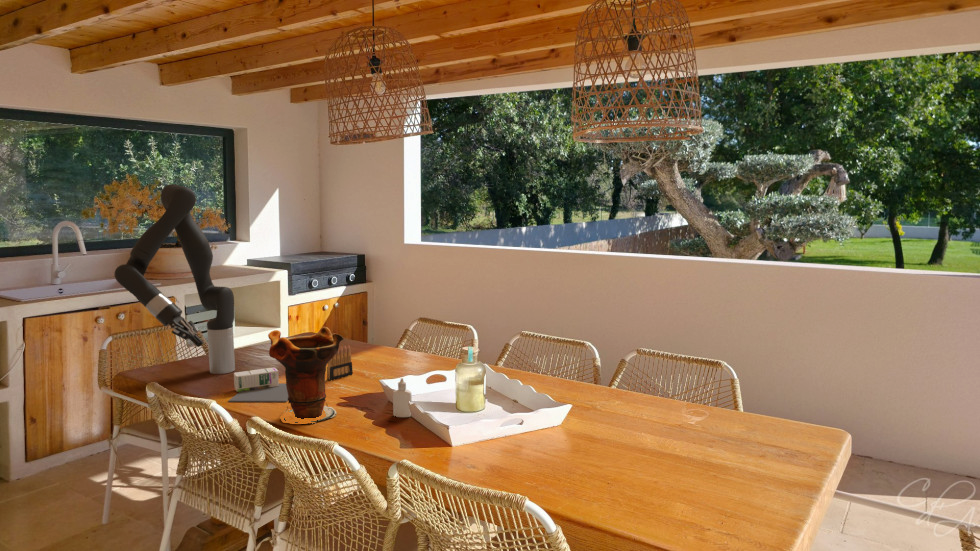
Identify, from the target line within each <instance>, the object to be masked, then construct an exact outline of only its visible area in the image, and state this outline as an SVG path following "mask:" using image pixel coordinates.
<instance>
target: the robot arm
mask: <svg viewBox="0 0 980 551" xmlns="http://www.w3.org/2000/svg"><path fill="white" fill-rule="evenodd" d="M160 201H161V204H162V206H163V208H164V210H165V211H164V213H163V214H162V215H161V217H160V218H159V219H158V220H157V221H156V222H154V223H153V224H152V225H151V226H150V227H149V228H147V229H146V230H145V232H143V233H142V235H141V236H140V237H139V238H138V240H137V241H136V243H135V244H134V246H133V248H132V249H131V251H130V253H129V254H130V255H129V256H130V257H129V258H128V260H127V262H126V263H123V264H120V265H119V266H117V267H116V268H115V271H114V279H115V280H116V282H117V283H118V284H120V286H122V287H123V288H124V289H125V290H127V291H128V292H129V293H130V294H131V295H133V296H134V298H136V300H137V301H138V302H140V304H142V306H144V307H145V308H146V310H148V312H149V313H150V314H151V315H152V316H153V317H154V318H155V319H156V320H157V321H158V322H159V323H161V325H162V326H164V327H168V326H170V327H171V328H172V330H171V333H172V335H173V334H174V335H175V336H176V337H177V336H178V337H179V338H181V339H183V340H186V341H187V340H189V341H191V343H193V344H194V345H195V346H196V347H197V348H198V347H199V348H200V347H202V345H203V344H204V343H205V342H204V340H202V338H200V337H199V336H198V335H197V334H198V330H197V327H196V326H195V324H194V322H193V321H192V320H189V321H188V320H187V319H186V318H184V317H183V316H182V313H183V310H182V309H181V308H180V307H178V305H177V304H176V303H175V302H174V301H172V299H170V298H169V297H168V296H167V295H166V294H164V293H163V292H162V291H161V290H160V289H159V288H158V287H156V285H155V284H153V283H151V282H150V281H149V280H147V279H146V277H144V276H145V273H146V271H147V269H148V267H149V265H150V263H151V261H152V260H153V259H154V257H155V256H156V254H157V252H158V251H159V250H160V248H161V247H162V245H163V244H164V242H165V241H166V240H167V238H168V237H169V236H170V234H171V233H172V232H173V231H175V233H176V235H177V239H178V241H179V243H180V245H181V249H182V252H183V254H184V257H185V259H186V261H187V263H188V266H189V269H190V271H191V274H192V276H193V277H192V278H193V280H194V283H195V286H196V291H197V294H198V298H199V300H200V303H201V305H202V307H203V308H204V309H205V310H208V311H216V316H215V317H214V318H212V319H209V320H208V321H207V323H206V332H207V334H206V335H207V347H208V350H207V351H208V364H209V373H210V374H214V375H223V374H229V373H232V372H233V373H234V371H235V370H236V362H235V361H236V360H235V342H234V339H235V338H234V327H233V326H234V324H233V322H234V319H235V296H234V293H233V291H232V289H231V288H229V286H228V287H227V286H216V285H214V283H213V281H212V278H211V274H210V273H211V268H212V264H213V261H214V260H213V258H214V256H213V251H212V248H211V246H210V243H209V240H208V238H207V237H206V235H205V233H204V232H203V231H202V229H201V228H200V226H199V225H198V224H197V223H196V221H195V220H194V217H193V216H192V214H191V211H192V210H193V208H194V207H195V205H196V202H197V196H196V194H195V192H194V190H192V189H190V187H186V186H182V185H179V184H174V183H173V184H171V183H170V184H167V185H165V186H164V187H163V188H162V190H161V192H160Z"/></svg>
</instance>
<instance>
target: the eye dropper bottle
mask: <svg viewBox="0 0 980 551" xmlns="http://www.w3.org/2000/svg"><path fill="white" fill-rule="evenodd" d="M397 387H398V388H397V389H395V390H394V391H393V393H392V411H393V416H394V417H395V416H396V417H397V418H411V416H412V415H411V412H410V409H409V406H408V402H409V401H410V402H412V401H413V400H412V392H411V390H408V389H407V382H406V381H404V378H403V377H401V378H400V380H399V381H398V382H397ZM412 403H413V402H412Z"/></svg>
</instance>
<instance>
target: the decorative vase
mask: <svg viewBox="0 0 980 551" xmlns="http://www.w3.org/2000/svg"><path fill="white" fill-rule="evenodd" d="M281 334H282V333H281V331H280V330H279V329H274V330H272V331H270V332H269V333H268V335H267V337H268V339H269V340H270V344H271V345H270V348H269V350H268V351H269V352H268V355H269V357H271V358H272V359H275V360H276V361H277V362H279V363H280V364H281V365H282V366H283V367H284V369H285V370H284V376H285V383H286V387H287V392H288V401H287V402H288V405H289V404H290V407H291V409H292V410H290V409H289V410H290V411H289V412H292V411H293V412H294V414H295V417H297V418H301V419H304V418H316V417H319V416H321V415H322V412H323V410H324V411H325V414H326V417H324V418H323V419H321V420H318V422H319V421H325V420H327V419H332V418H333V417H336V416H337V411H336V408H333V407H332V406H328V403H327V402H326V398H327V393H326V373H327V366H328V362H329V361H330V360H331V359H332V358H333V357H334V356H336V353H337V351H338V349H339V350H340V343H341V342H342V341H343V340H344V339H345V337H343V336H342V335H341V334H339V333H334V332H333V333H332V332H331V330H330V328H328V327H326V326H323V327H321V328H319V331H317V332H316V333H315V334H312V335H304V336H303V335H301V336H293V337H287V338H286V337H284V336H283V337H282V336H281ZM325 404H326V405H325ZM286 408H287V409H288V408H289V406H287V407H286ZM285 411H286V412H287V411H288V410H285ZM284 420H285V418H284ZM285 421H286V420H285ZM311 422H317V421H311ZM318 422H317V423H318ZM295 423H298V422H295Z"/></svg>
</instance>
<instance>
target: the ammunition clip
mask: <svg viewBox="0 0 980 551" xmlns="http://www.w3.org/2000/svg"><path fill="white" fill-rule="evenodd" d="M351 353H352V352H351V347H350V344H349V343H348V344H347V346H346V344H344V345H343V346H342V345H339V349H338V351H337V353H336V354H335V356H334V357H333V358H332V359H331V360H330V361H329V362H328V363H327V366H326V376H327V378H326V379H327V381H331V380H332V381H335V380H339V379H342V378H341V377H343V378H345V376H346V377H349V376H348V375H350V376H352V374H353V373H354V372H353V362H352V354H351ZM353 375H354V374H353ZM338 378H339V379H338ZM334 379H335V380H334Z"/></svg>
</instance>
